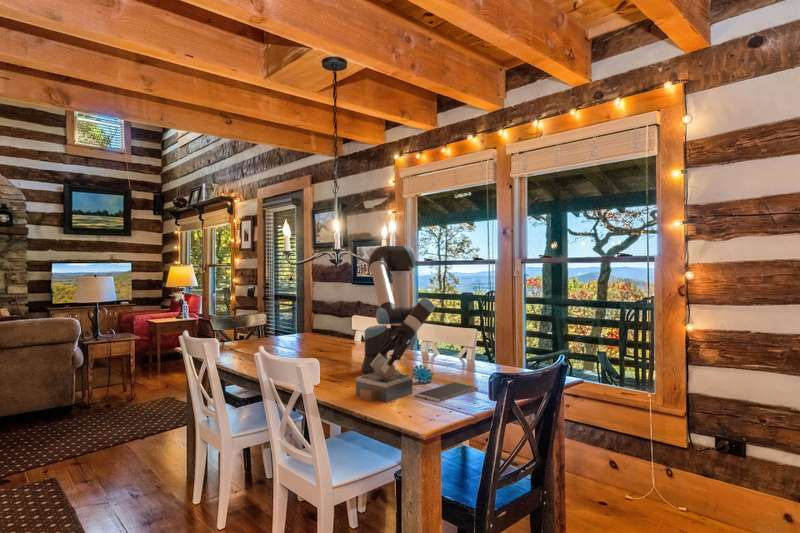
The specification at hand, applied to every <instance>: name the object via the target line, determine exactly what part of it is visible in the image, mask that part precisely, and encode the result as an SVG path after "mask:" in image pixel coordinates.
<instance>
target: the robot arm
mask: <svg viewBox="0 0 800 533" xmlns="http://www.w3.org/2000/svg"><path fill="white" fill-rule="evenodd" d="M367 267H368V270H369V272H370V274H371V275H372V279H373V284H374V290H375V294H376V299H377V302H378V303H377V304H378V308H377V309H376V312H375V313H376V314H375V316H376V322H377V324H378V325H372V326H370V327H367V328H365V330H364V337H363V338H364V358H363V361H362V365H361V373H362V374H364V375H367V374H370V373H374V372H375V371H374V369H373V365H374V362H375V360H376V359H378V358H380V357H384V358H386V359H387V361H386V362H385V363H384V365H383V366H382V367H381V368H380V369H381V370H382V371H383V372H384V373H386V371H387V370H388V369H389V368H390V366H391V365H392V364H393V365H394V362H395V361H400V360H401V358H402V356H403V355H404V353H405V352H406V350H412V349H413V348H414V347H415V345H416V342H417V335H418V334H417V332H418V331H419V330H420V329H421V327H422V326H423V325H424V323H425V322H426V321H427V319H428V318H429V317H430V315H432V313H433V311H434V310H435V309H436V306H435V303H434V302H433V301H432V300H430V299H428V298H427V297H422V298H420V300H418V302H417V304H415V305H414V306H410V274H411V273H412V270H413V269H414V268H415V267H416V256H415V251H414V250H413V248H412V247H411V246H408V245H382V246H379V247H377V248H375V249H374V250H373V251H372V253H371V254H370V256H369V259H368V262H367ZM388 269H389V273H390V274H391V275H392V287H391V283H390V280H389V273H388V271H387V270H388ZM388 325H389V326H390V327H388ZM390 351H392V354H390V355H389V357H388V352H390Z"/></svg>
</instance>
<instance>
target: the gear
mask: <svg viewBox="0 0 800 533" xmlns="http://www.w3.org/2000/svg"><path fill="white" fill-rule="evenodd" d="M422 367H423V368H422ZM427 368H428V366H426V365H424V366H423V364H419V365H415V367H414V368H413V369H412V376H414V380H416V381H418V383H419V384H421V383H422V384H424V385H426V384H430V383H431V381H432V380H433V379H434V378H433V376H434V375H435V372H431V371H432V370H431V369H430V368H429V369H427ZM422 381H423V382H422Z"/></svg>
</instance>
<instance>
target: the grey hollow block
mask: <svg viewBox="0 0 800 533" xmlns="http://www.w3.org/2000/svg"><path fill="white" fill-rule="evenodd" d="M412 394H413V374H412V375H411V374H405V373H402V372H400V374H399V376H397V375H394V374H393V375H392V376H391V377H390V378H383V377H381V376H379V375H378V374H376V373H375V372H374V373H370V374H364V375H359V376H355V396H357V395H358V396H357V397H360V398H359V399H360V400H363V401H366V400H367V401H366V402H370V401H372V402H375V401H378V400H379V402H383V403H388V402H392V401H393V400H397V399H400V398H403V397H406V396H408V395H412ZM374 400H375V401H374Z"/></svg>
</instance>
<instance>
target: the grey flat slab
mask: <svg viewBox="0 0 800 533" xmlns="http://www.w3.org/2000/svg"><path fill="white" fill-rule="evenodd" d="M478 390H479V387H478V386H475V385H470V384H466V383H462V382H457V381H454V382H451V383H448V384H444V385H441V386H438V387H434V388H431V389H427V390H424V391H420V392H418V393H415V395H414V396H415V398H416V397H417V398H420V399H424V400H426V399H427V400H428V401H430V402H435V403H442V402H444V401H447V400H451V399H454V398H456V397H457V398H458V397H460V396H463V395H466V394H469V393H472V392H475V391H478Z"/></svg>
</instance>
